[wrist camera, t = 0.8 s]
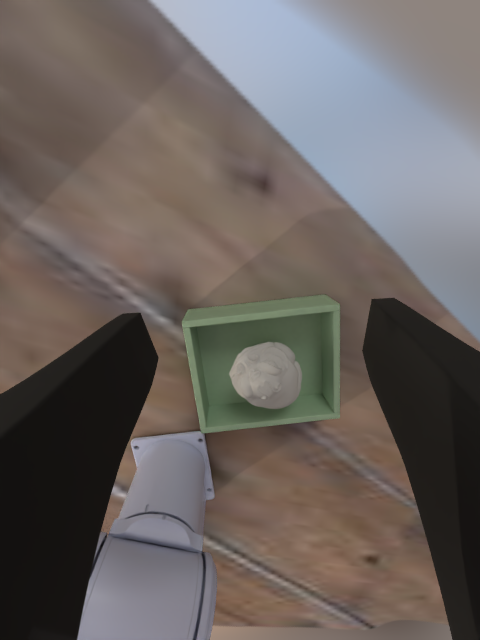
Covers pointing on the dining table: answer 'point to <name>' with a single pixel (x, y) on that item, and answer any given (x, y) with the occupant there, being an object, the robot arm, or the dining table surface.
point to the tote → (255, 328)
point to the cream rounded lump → (267, 375)
